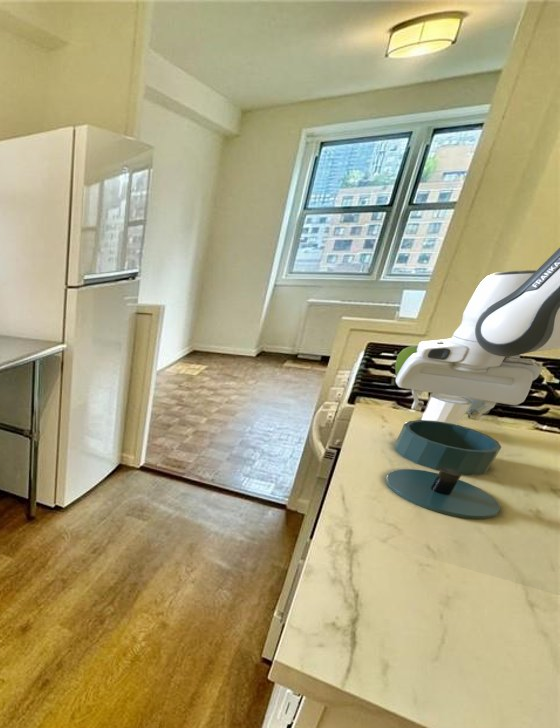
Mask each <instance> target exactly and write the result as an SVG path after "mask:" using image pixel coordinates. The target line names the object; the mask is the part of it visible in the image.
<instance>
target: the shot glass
mask: <svg viewBox="0 0 560 728" xmlns="http://www.w3.org/2000/svg"><path fill="white" fill-rule="evenodd" d="M471 405H472V401H471V400H469V399H467V398H464V397H458V396H451V395H445V394H438V393H432V392H431V393H430V395H429V397H428V401H427V403H426V405H425V409H424V411H423V414H422V417H421V420H429V421H439V422H445V423H451V424H456V425H459V424H460V422H461V421H462V419H463V418H464V416H465V415H466V414H467V413H466V412H467V410H468V409H469V408H470V406H471Z"/></svg>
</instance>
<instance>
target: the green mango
mask: <svg viewBox="0 0 560 728" xmlns="http://www.w3.org/2000/svg"><path fill="white" fill-rule="evenodd" d="M417 347H418V345H409V346H407V347H405V348H403V349H402V350H401V351H400V352H399V353H398V354H397V357H396V360H395V363H394V368H395V369H394V370H395V378H396V377H397V375H398V373H399V371H400V369H401V367H402V366H403V364H404V363H405V361H406V360H407V359H408V358H409V357H410V356H411V355H413V354H415V353H417Z"/></svg>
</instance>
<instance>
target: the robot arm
mask: <svg viewBox="0 0 560 728" xmlns="http://www.w3.org/2000/svg"><path fill="white" fill-rule="evenodd" d="M461 319H462V320H461V323H460V325H459V326H458V327H457V329H455V331H454V332H453V333H452V336H451V338H444V339H436V340H435V339H434V340H425V341H421V342H419V343H418V345H417V346H418V347H417V353H415V354H413V355H411V356H410V357H409V358H408V359H407V360H406V361H405V363H404V364H403V366H402V367H401V369H400V371H399V373H398V375H397V377H396V376H395V384H396V385H397V387H398V388H401V389H406V390H411V394H412V398H413V402H412V404H411V410H415V411H422V409H423V407H424V405H425V403H424V401H423V400H419V397H418V396H422V394H423V392H426V393H431V394H432V393H438V394H445V395H451V396H458V397H464V398H471V399H477V400H484V401H483V403H484V405H483V406H481V407H480V408H478V409H477V410H474V409H471V411H470V413H469V414H468V413H467V418H468V420H474V421H479V420H480V419H481V416H482V413H485V412H486V411H488V410H490V411H491V409H494V408H495V406H496V404H497V403H498V404H503V405H509V406H518V405H520V404H522V403H525V400H526V398H527V397H528V395H529V392H530V390H531V387H532V384H533V382H534V381H535V380H537V379H538V378H539V376H540V374H541V373H542V371H543V365H542V364H541V363H540V362H539V361H537V360H535V359H532V358H521V357H520V358H517V357H509V356H516V355H519V356H521V355H526V354H530V353H535V352H544V351H545V352H546V351H551V350H560V247H559V248H558V249H557V250H556V251H554V253H552V255H550V256H549V258H547V259H546V261H544V262H543V263H542V264H541V265H540V266H539V268H537V269H536V270H535V269H534V270H531V269H530V270H528V269H527V270H509V271H497V272H493V273H491V274H490V275H487V276H486V277H485V278H483V279H482V281H481V282H480V283H479V285H478V286H477V288H475V290H474V292H473V293H472V295H471V297H470V298H469V301H468V303H467V305H466V307H465V309H464V311H463V313H462V318H461Z"/></svg>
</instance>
